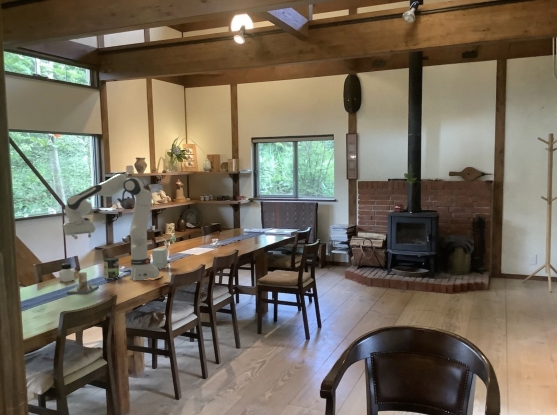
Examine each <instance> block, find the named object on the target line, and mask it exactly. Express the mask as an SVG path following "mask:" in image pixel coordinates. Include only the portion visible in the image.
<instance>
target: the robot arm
mask: <svg viewBox="0 0 557 415" xmlns="http://www.w3.org/2000/svg"><path fill="white" fill-rule="evenodd" d="M123 190H125V192H127V193H129V194H130V195H132V196H134V197H135V201H134V206H133V213H132V219H131V223H130V229H129V236H130V250H131V251H130V252H131V253H130V254H131V259H130V266H131V270H130V272H131V273H130V278H131V279H130V278H129V279H130V280H132V279H133V280H132V281H134V280H144V279H148V278H156V277H158V276H159V275H160V274H161V273H160V269H158V268H157V267H155V266H154V265H153V263H151V261H152V259H151V258H149V257H148V232H147V231H148V224H149V218H150V214H151V208H152V207H151V206H152V201H153V200H152V195H153V194H152V192H151V191H150V190H148V189H146V188H145V182H144V181H143V179H141V178H139V177H127V176H126V175H125V174H123V173H118V174H115V175H113V176H112V177H110V178H109V179H107V180H105V181H104V182H100V183H98V184H94V185H92V186H90V187H88V188H87V189H85V190H82V191H80V192H79V193H76V194H73V195H70V196H69V197H68V199H67V202H66V203H67V204H65V208H64V212H65V215H66V218H67V219H68V223H63V224H62V226H61V227H62V229H63V231H64V235H65V236H71V237H72V238H74V240H78V236H77V235H83V234H88V235H87V237H88V238H91V237H92V233H93V234H94V233H95V231H96V226H95V224H94V223H93V222H92V221H91V218H89V217H85V216H86V215H88V214H90V212H92V210H93V206H92V204H91V202H89V201H88V199H90V198H92V197H94V196H103V197H107V198H108V197H109V198H110V197H113V196H115V195H117V194H118V193H119V192H121V191H123Z"/></svg>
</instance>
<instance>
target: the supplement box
mask: <svg viewBox="0 0 557 415" xmlns="http://www.w3.org/2000/svg"><path fill="white" fill-rule="evenodd" d="M167 250H168V249H167V248H154V249H152V250H151V255H152V256H151V258H152V259H151V261H152V264H153V265H154V266H155V267H157V268H165V267H166V266H167V267H168V252H167ZM167 267H166V268H167ZM166 268H165V269H166Z"/></svg>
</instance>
